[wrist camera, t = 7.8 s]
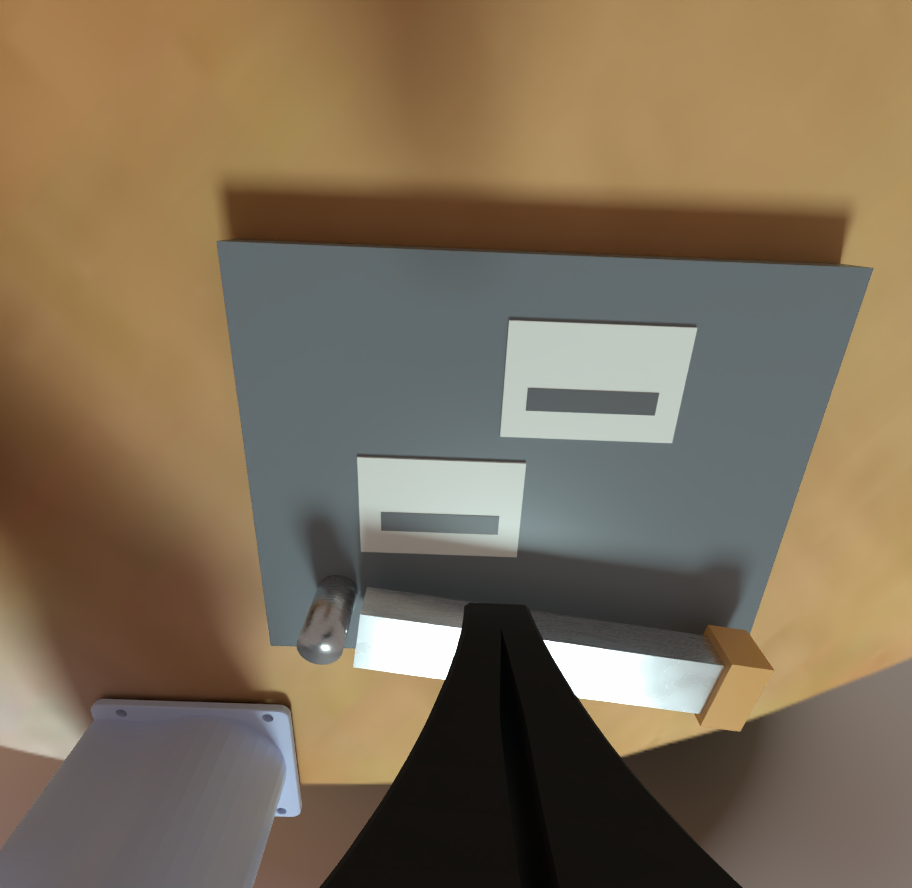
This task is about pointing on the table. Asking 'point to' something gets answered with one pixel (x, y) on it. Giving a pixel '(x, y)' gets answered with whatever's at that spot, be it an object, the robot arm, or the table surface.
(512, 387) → the label panel
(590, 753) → the robot arm
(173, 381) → the table surface
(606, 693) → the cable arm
